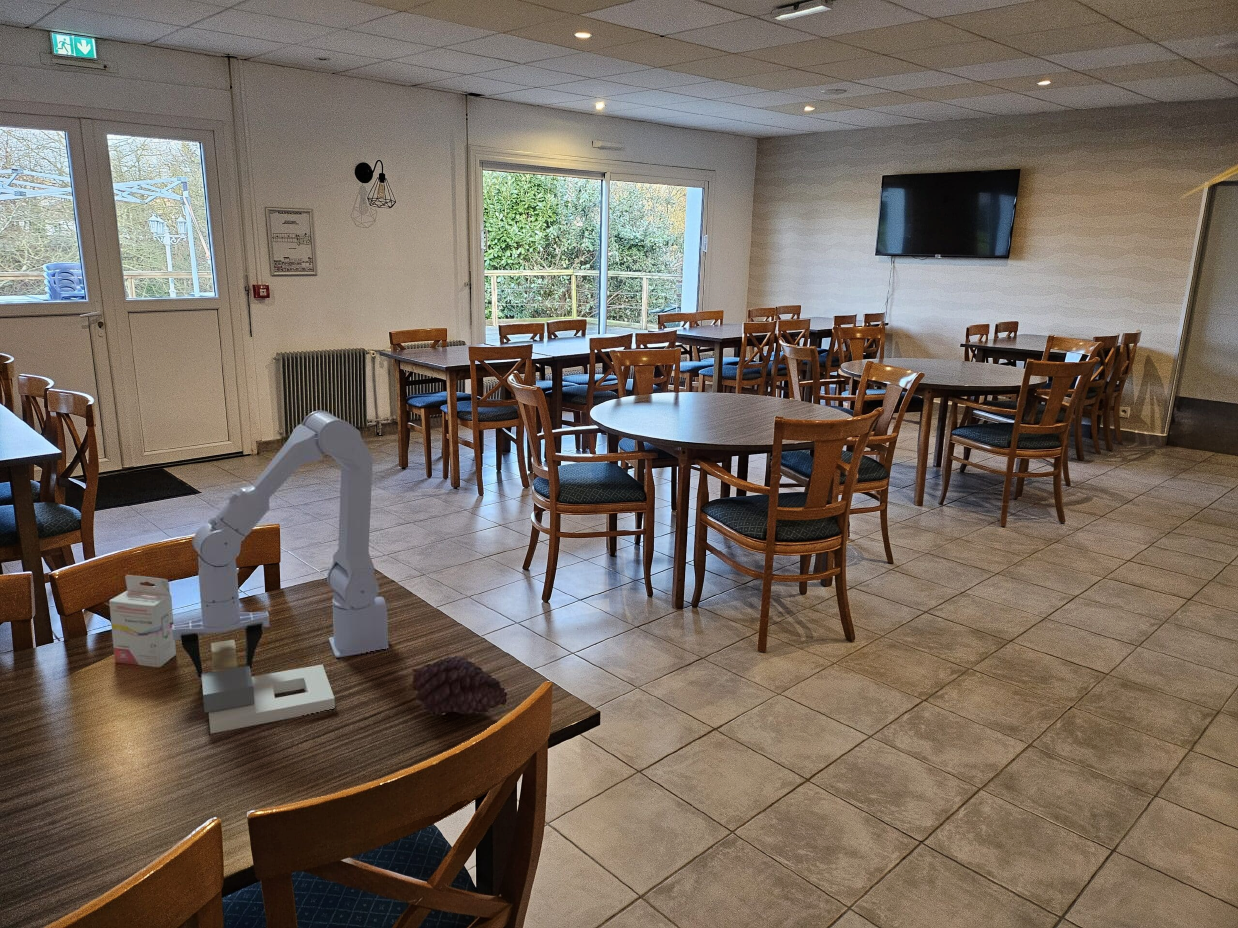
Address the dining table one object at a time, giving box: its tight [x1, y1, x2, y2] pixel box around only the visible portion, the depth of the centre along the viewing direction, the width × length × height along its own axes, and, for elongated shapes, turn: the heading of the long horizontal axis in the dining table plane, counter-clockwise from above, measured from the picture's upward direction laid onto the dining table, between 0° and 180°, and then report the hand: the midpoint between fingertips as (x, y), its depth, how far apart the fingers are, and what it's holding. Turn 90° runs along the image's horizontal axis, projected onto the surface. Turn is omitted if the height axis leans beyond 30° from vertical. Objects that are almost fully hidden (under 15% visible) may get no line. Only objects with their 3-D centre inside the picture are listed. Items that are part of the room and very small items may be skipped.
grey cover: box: [201, 665, 254, 713], centre depth 132 cm, size 7×7×3 cm
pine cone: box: [406, 655, 508, 717], centre depth 134 cm, size 18×10×10 cm, turn 70°
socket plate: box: [208, 664, 336, 734], centre depth 135 cm, size 18×12×2 cm, turn 118°
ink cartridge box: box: [108, 574, 177, 668], centre depth 145 cm, size 9×5×15 cm, turn 84°
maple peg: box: [210, 639, 238, 672], centre depth 142 cm, size 4×4×6 cm
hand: (224, 670), depth 142 cm, fingers open, 7 cm apart
